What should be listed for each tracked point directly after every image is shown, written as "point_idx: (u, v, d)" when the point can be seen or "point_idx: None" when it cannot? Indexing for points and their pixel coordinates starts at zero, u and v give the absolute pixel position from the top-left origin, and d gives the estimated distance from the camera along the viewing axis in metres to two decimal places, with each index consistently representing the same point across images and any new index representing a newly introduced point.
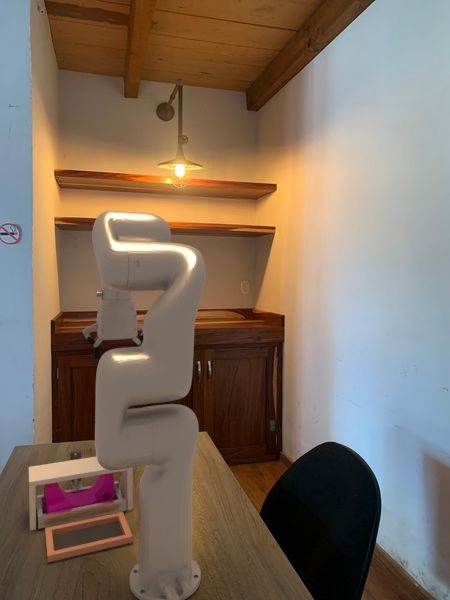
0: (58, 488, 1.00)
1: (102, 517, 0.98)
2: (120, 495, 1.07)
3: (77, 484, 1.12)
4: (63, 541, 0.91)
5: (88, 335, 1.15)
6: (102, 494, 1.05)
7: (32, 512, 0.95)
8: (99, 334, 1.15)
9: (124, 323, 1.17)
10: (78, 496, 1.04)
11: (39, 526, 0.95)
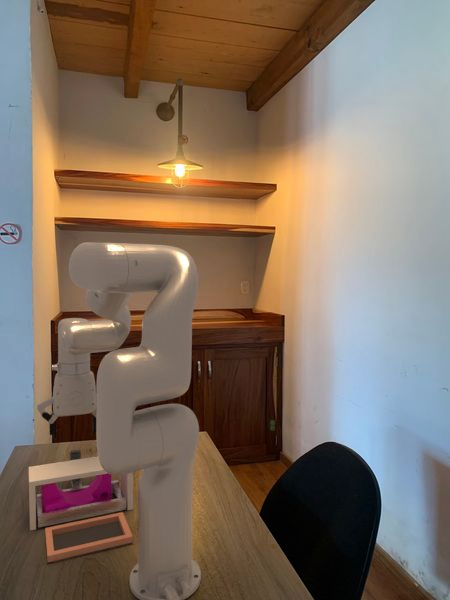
0: (55, 487, 1.00)
1: (102, 517, 0.98)
2: (120, 494, 1.08)
3: (77, 483, 1.12)
4: (63, 541, 0.91)
5: (43, 411, 1.10)
6: (99, 494, 1.05)
7: (32, 512, 0.95)
8: (54, 411, 1.09)
9: (81, 398, 1.11)
10: (75, 495, 1.05)
11: (39, 525, 0.95)
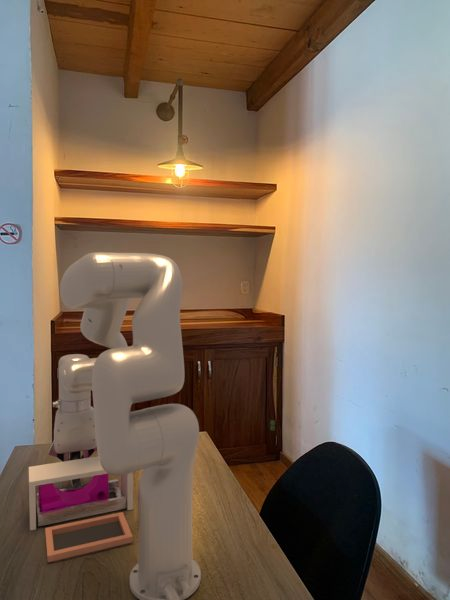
0: (52, 486, 1.01)
1: (102, 517, 0.98)
2: (119, 493, 1.08)
3: (77, 482, 1.13)
4: (63, 541, 0.91)
5: (56, 453, 1.11)
6: (96, 493, 1.06)
7: (32, 512, 0.95)
8: (55, 448, 1.09)
9: (82, 434, 1.11)
10: (72, 495, 1.05)
11: (39, 523, 0.96)
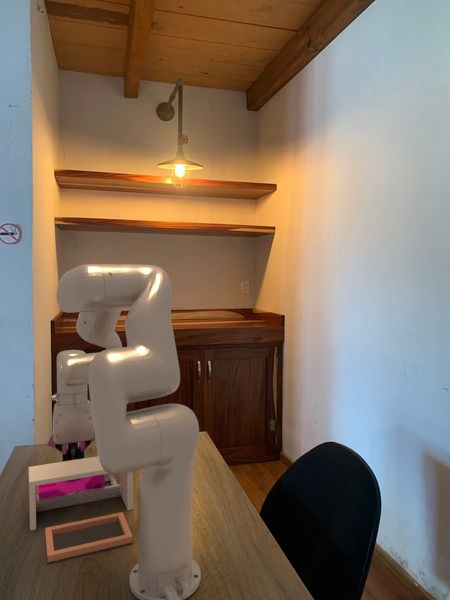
0: None
1: (102, 517, 0.98)
2: (114, 482, 1.14)
3: None
4: (63, 541, 0.91)
5: (54, 444, 1.17)
6: (93, 484, 1.10)
7: (32, 512, 0.95)
8: (54, 439, 1.15)
9: (79, 426, 1.17)
10: (70, 485, 1.10)
11: (38, 509, 1.02)
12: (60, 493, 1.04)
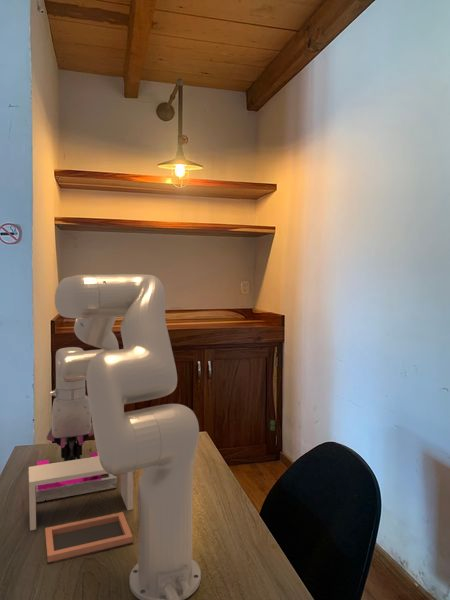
0: None
1: (102, 517, 0.98)
2: (111, 474, 1.18)
3: None
4: (63, 541, 0.91)
5: (53, 438, 1.21)
6: (90, 476, 1.14)
7: (32, 512, 0.95)
8: (53, 433, 1.19)
9: (78, 421, 1.21)
10: None
11: (37, 499, 1.06)
12: (58, 484, 1.09)
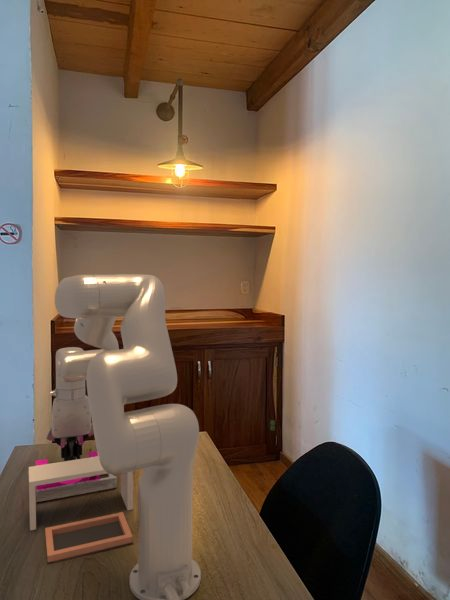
0: None
1: (102, 517, 0.98)
2: (111, 474, 1.18)
3: None
4: (63, 541, 0.91)
5: (53, 438, 1.21)
6: None
7: (32, 512, 0.95)
8: (53, 433, 1.19)
9: (78, 421, 1.21)
10: None
11: (37, 499, 1.06)
12: (57, 483, 1.09)
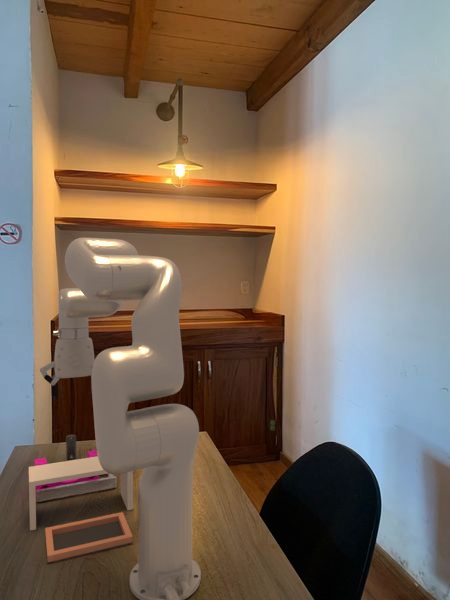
0: None
1: (102, 517, 0.98)
2: (111, 474, 1.18)
3: None
4: (63, 541, 0.91)
5: (45, 373, 1.18)
6: None
7: (32, 512, 0.95)
8: (56, 373, 1.18)
9: (81, 361, 1.20)
10: None
11: (37, 499, 1.06)
12: (56, 482, 1.10)
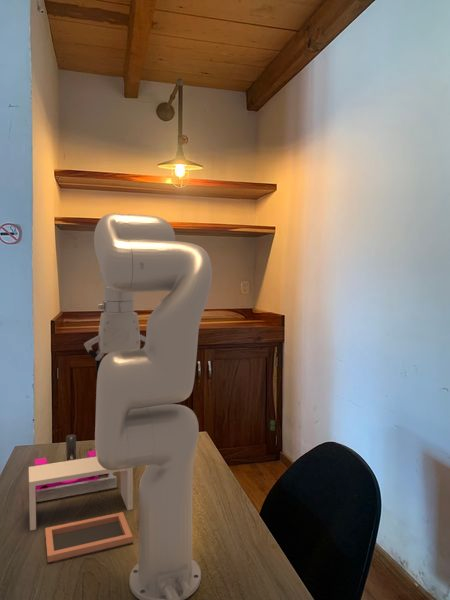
0: None
1: (102, 517, 0.98)
2: (111, 474, 1.18)
3: None
4: (63, 541, 0.91)
5: (90, 348, 1.13)
6: None
7: (32, 512, 0.95)
8: (101, 347, 1.12)
9: (127, 336, 1.14)
10: None
11: (37, 499, 1.06)
12: (56, 482, 1.10)
